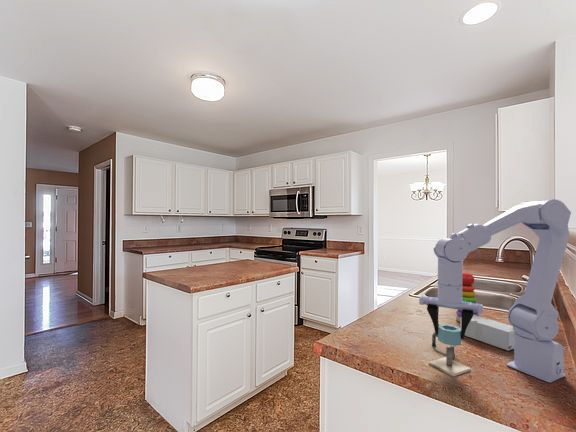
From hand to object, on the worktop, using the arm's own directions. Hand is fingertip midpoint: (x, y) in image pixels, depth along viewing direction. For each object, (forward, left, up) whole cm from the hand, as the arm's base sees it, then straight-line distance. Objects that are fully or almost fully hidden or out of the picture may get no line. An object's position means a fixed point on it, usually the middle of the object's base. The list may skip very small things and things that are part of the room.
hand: (449, 335), depth 78 cm
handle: (+6, -6, -8) cm, 12 cm away
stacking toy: (+20, -40, -8) cm, 45 cm away
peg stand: (0, 0, -8) cm, 8 cm away
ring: (0, 0, -1) cm, 1 cm away
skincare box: (+13, -28, -5) cm, 31 cm away
